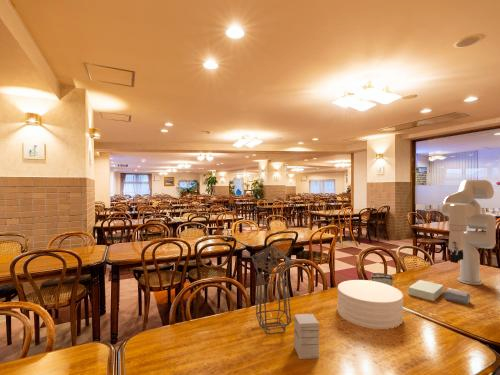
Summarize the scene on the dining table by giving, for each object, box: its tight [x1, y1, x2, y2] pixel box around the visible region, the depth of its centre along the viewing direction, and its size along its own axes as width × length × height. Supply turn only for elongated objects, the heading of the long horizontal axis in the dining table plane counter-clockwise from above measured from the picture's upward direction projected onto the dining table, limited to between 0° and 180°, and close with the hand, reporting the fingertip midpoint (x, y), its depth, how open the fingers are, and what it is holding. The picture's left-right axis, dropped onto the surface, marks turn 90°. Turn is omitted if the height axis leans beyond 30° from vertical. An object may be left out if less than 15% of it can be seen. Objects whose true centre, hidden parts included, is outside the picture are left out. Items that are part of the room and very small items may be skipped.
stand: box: [408, 279, 444, 302], centre depth 160 cm, size 18×12×4 cm, turn 132°
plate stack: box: [337, 279, 404, 330], centre depth 135 cm, size 28×28×12 cm
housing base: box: [443, 289, 471, 306], centre depth 151 cm, size 5×10×4 cm, turn 42°
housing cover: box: [446, 287, 469, 297], centre depth 150 cm, size 4×9×2 cm, turn 41°
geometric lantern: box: [250, 245, 295, 335], centre depth 121 cm, size 16×16×35 cm
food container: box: [370, 272, 395, 287], centre depth 162 cm, size 12×6×10 cm, turn 84°
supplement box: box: [293, 313, 320, 360], centre depth 104 cm, size 7×7×13 cm
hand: (456, 260), depth 150 cm, fingers open, 9 cm apart
